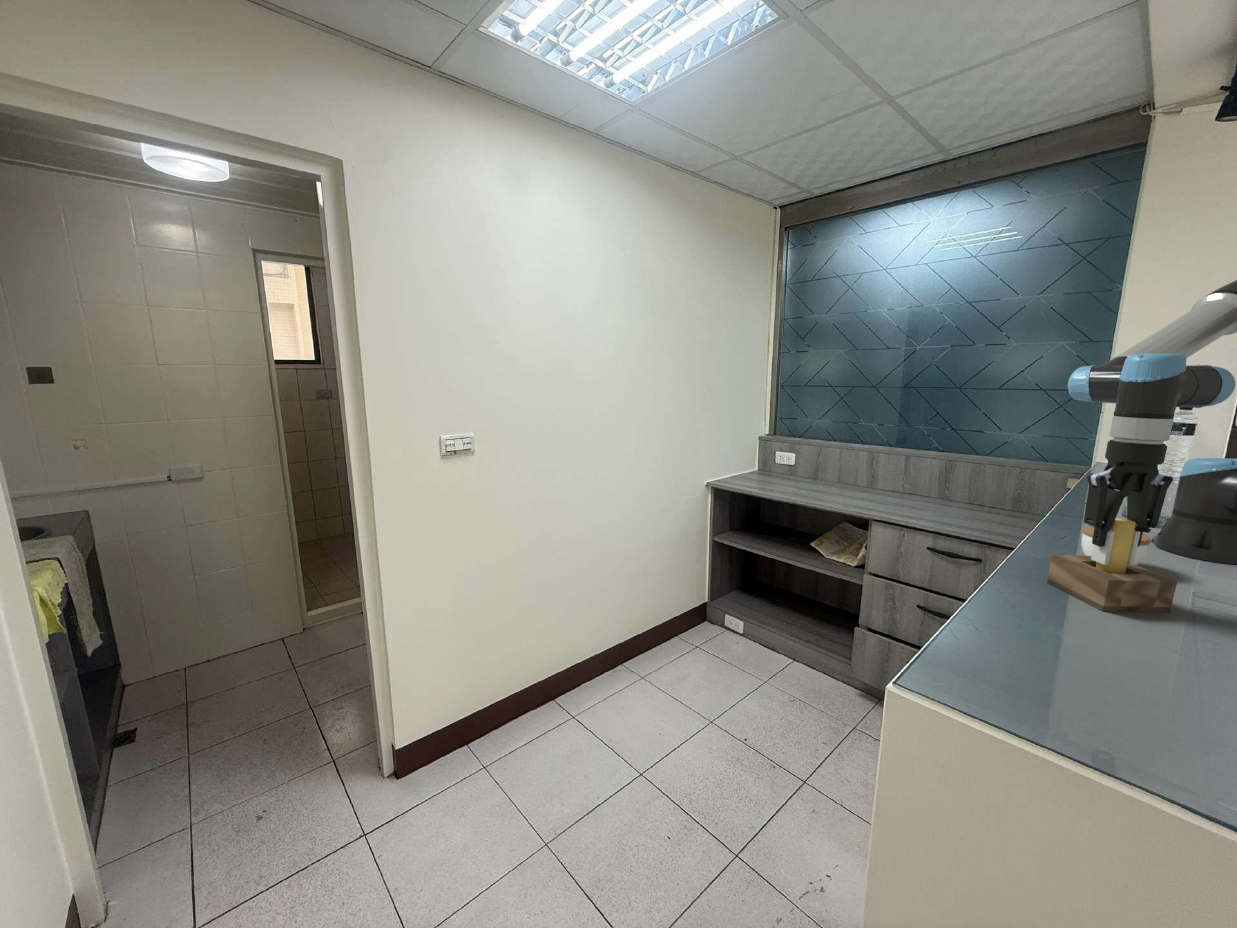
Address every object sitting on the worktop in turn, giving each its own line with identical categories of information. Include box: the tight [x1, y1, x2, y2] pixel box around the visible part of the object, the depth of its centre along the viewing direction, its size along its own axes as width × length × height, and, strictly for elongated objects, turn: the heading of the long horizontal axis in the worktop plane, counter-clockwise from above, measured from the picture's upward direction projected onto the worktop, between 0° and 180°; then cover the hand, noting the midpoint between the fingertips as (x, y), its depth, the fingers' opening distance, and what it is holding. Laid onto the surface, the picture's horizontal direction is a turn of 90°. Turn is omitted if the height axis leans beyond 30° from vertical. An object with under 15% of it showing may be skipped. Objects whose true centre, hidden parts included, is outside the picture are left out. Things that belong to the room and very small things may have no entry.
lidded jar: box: [1080, 524, 1152, 566], centre depth 109 cm, size 11×11×9 cm
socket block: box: [1046, 554, 1178, 613], centre depth 94 cm, size 12×12×6 cm
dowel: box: [1096, 517, 1136, 574], centre depth 93 cm, size 4×4×14 cm
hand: (1111, 561), depth 93 cm, fingers closed on dowel, 4 cm apart
